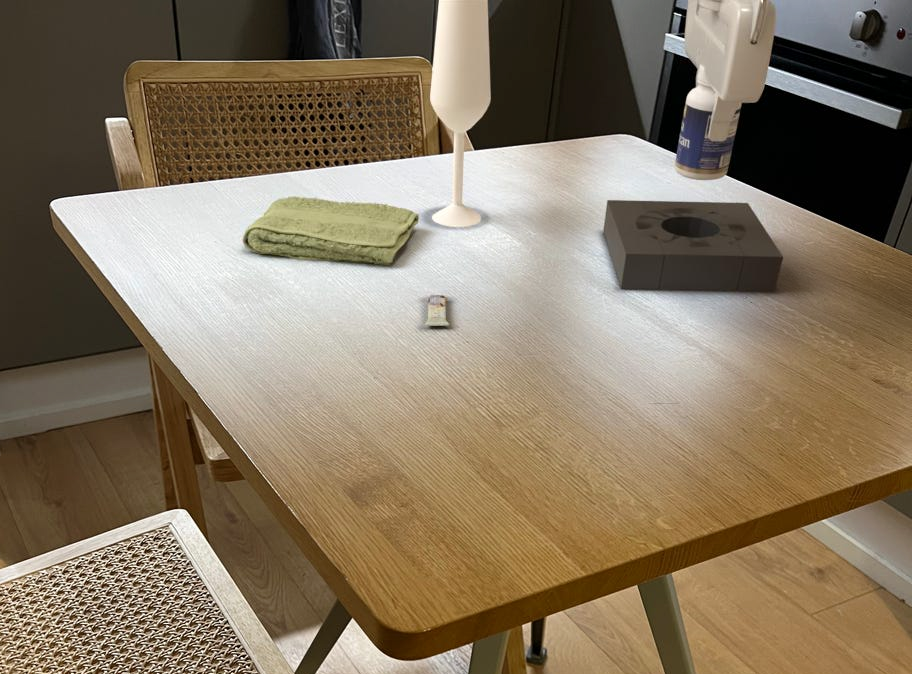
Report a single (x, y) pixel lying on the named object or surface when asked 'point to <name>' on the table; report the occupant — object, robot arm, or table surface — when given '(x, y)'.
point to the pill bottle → (703, 136)
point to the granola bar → (437, 310)
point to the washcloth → (331, 230)
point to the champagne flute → (460, 87)
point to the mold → (690, 247)
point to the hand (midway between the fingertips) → (708, 129)
